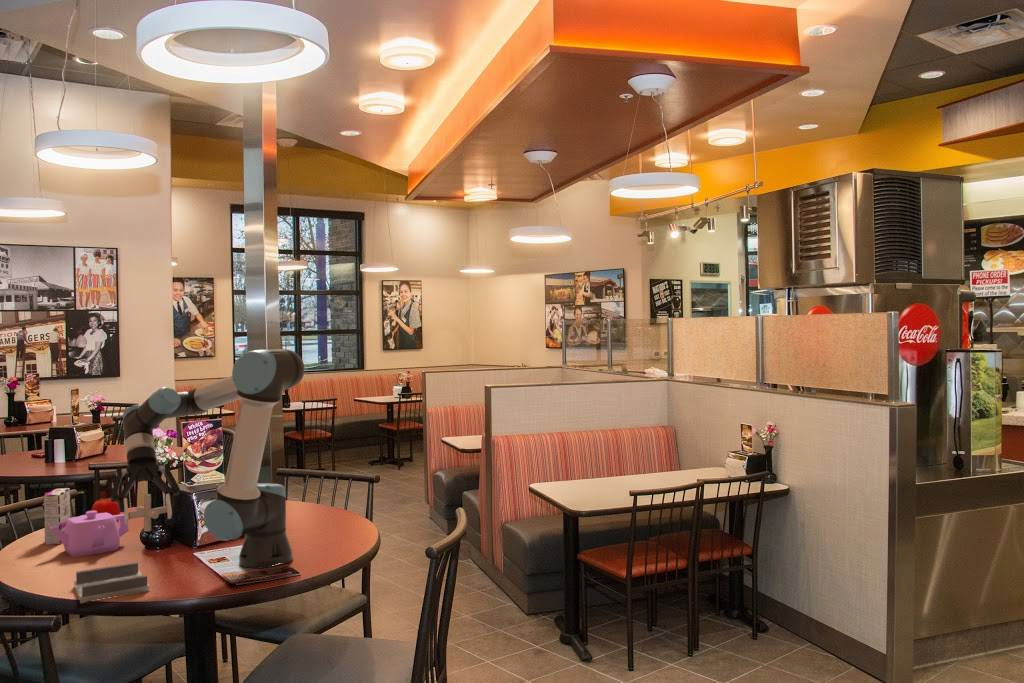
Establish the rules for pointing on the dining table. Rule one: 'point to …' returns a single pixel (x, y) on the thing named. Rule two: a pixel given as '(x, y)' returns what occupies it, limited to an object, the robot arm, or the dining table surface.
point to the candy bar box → (56, 513)
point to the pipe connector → (147, 512)
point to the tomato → (106, 507)
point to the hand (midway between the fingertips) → (148, 518)
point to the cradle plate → (133, 591)
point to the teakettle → (91, 533)
